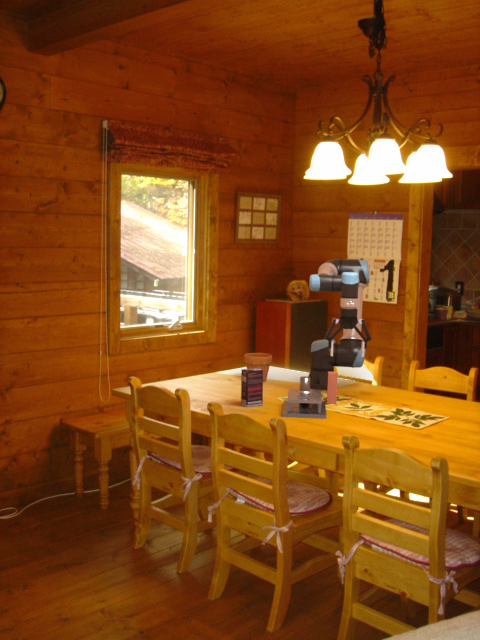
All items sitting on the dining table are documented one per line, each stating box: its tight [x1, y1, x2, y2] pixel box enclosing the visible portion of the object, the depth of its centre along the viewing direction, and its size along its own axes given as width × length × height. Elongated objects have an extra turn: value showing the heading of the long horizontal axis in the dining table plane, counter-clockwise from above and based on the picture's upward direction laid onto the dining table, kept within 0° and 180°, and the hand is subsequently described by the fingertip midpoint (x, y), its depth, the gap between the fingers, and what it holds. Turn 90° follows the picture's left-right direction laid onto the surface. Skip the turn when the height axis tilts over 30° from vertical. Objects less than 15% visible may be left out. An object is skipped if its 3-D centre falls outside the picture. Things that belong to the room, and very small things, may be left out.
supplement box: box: [240, 368, 264, 408], centre depth 315 cm, size 9×5×16 cm, turn 121°
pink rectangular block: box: [326, 371, 339, 405], centre depth 322 cm, size 4×4×14 cm
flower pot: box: [243, 352, 273, 382], centre depth 372 cm, size 14×14×13 cm
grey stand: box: [281, 375, 327, 419], centre depth 308 cm, size 18×24×13 cm
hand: (347, 356), depth 319 cm, fingers open, 13 cm apart
